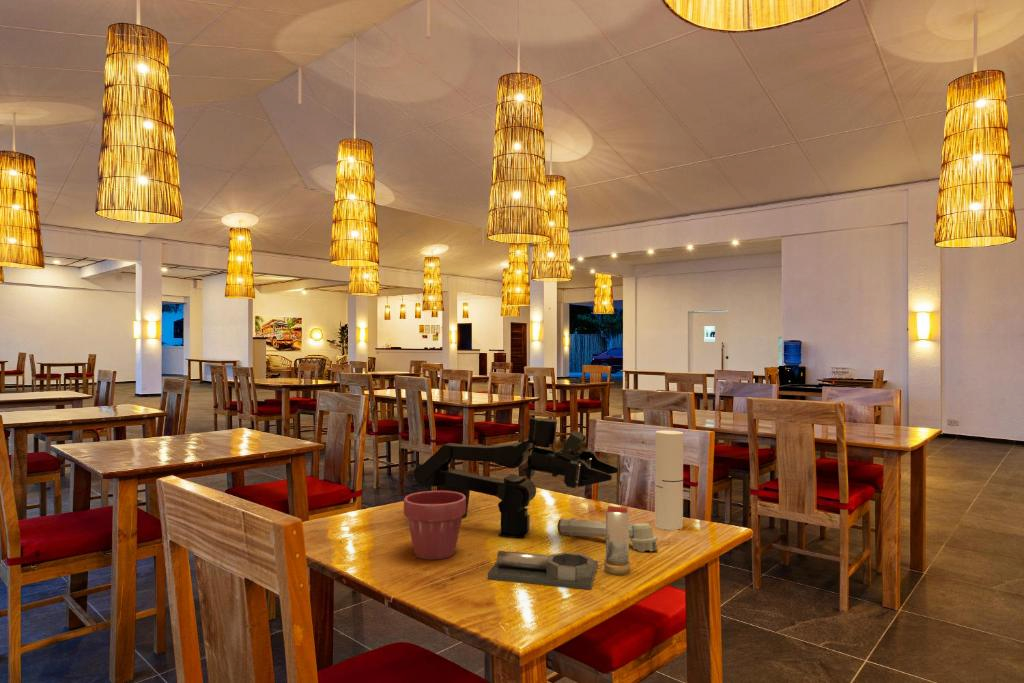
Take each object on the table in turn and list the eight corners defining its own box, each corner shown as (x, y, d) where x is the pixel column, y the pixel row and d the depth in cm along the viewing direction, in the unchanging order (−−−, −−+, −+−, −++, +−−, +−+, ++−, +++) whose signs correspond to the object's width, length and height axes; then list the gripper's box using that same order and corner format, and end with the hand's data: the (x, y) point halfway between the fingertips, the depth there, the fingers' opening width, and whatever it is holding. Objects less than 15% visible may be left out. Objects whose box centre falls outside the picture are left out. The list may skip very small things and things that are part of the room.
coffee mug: (469, 520, 164) (469, 483, 164) (437, 520, 164) (438, 483, 165) (472, 509, 176) (473, 475, 176) (443, 509, 176) (443, 474, 176)
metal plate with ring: (487, 578, 122) (487, 557, 122) (504, 557, 135) (504, 538, 135) (590, 589, 117) (591, 567, 117) (597, 566, 130) (597, 546, 130)
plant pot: (402, 544, 143) (403, 490, 144) (461, 541, 146) (462, 488, 146) (403, 565, 129) (404, 505, 129) (469, 562, 132) (469, 503, 132)
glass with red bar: (602, 573, 126) (603, 509, 126) (605, 565, 131) (605, 503, 131) (629, 576, 125) (629, 511, 125) (630, 567, 130) (631, 505, 130)
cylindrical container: (678, 531, 156) (678, 434, 157) (651, 527, 160) (651, 432, 160) (686, 525, 162) (686, 431, 163) (659, 521, 166) (660, 429, 166)
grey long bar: (565, 515, 157) (658, 517, 143) (567, 542, 156) (661, 546, 143) (555, 520, 152) (650, 523, 139) (558, 547, 152) (653, 552, 138)
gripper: (545, 434, 141) (612, 446, 136) (565, 425, 158) (624, 435, 153) (540, 481, 141) (606, 495, 136) (560, 467, 159) (619, 479, 154)
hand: (614, 474), depth 145 cm, fingers open, 9 cm apart
